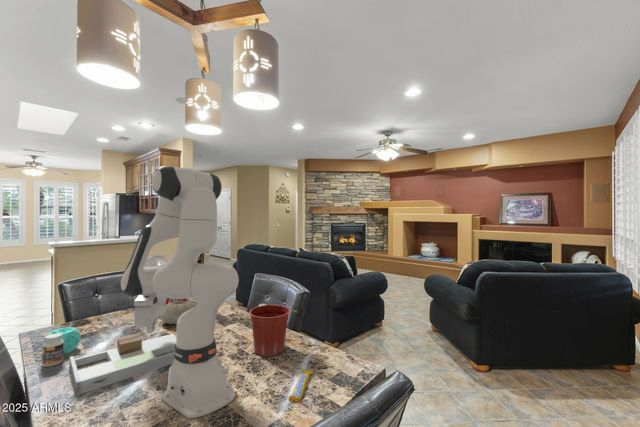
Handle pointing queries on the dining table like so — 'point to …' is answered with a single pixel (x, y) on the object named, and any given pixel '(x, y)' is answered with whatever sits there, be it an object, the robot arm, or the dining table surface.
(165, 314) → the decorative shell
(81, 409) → the dining table surface
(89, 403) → the dining table surface
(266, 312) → the flower pot
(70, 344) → the decorative dice
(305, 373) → the candy bar
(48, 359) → the pill bottle
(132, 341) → the walnut block
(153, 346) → the board
